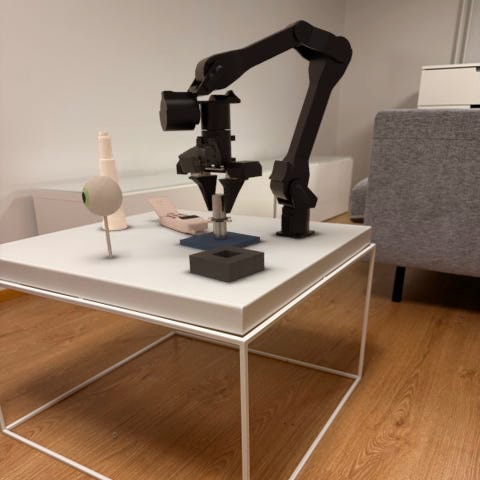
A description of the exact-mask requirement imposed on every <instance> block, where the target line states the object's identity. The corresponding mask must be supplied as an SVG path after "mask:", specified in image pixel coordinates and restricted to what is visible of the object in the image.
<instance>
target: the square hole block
mask: <svg viewBox="0 0 480 480" xmlns="http://www.w3.org/2000/svg"><path fill="white" fill-rule="evenodd" d="M188 263H189V273H191V274H196V275H199V276H204V277H206V278H211V279H215V280H218V281H221V282H222V281H223V282H226V283H231V282H234V281H237V280H239V279H242V278H244V277H247V276H251V275H253V274H255V273H259V272H260V271H264V270H265V252H264V251H259V250H254V249H248V248H244V247H240V248H239V247H234V246H229V245H223V246H220V247H216V248H213V249H209V250H203V251H199V252H194V253H191V254H189V255H188Z"/></svg>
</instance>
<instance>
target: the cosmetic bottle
mask: <svg viewBox="0 0 480 480" xmlns="http://www.w3.org/2000/svg"><path fill="white" fill-rule="evenodd" d="M98 135H99V136H98V137H97V140H98V142H97V143H98V149H99V150H98V151H99V157H100V158H99V159H98V167H99V176H106V177H109V178H111V179H113V180H114V181H115V182H116V183H117V184H118V185H119V186H120V183H119V182H120V181H119V176H118V169H117V165H116V159H115V158H114V157H113V148H112V140H111V136H109V131H99V132H98ZM107 220H108V227H109V231H121V230H126V229H127V228H128V222H127V217H126V215H125V210H124V205H123V203H122V204H121V206H120V208H119V209H118V210H117V211H116V212H115V213H113V214H112V215H109V216H107ZM102 230H104V231H105V225H104V218H103V217H102Z"/></svg>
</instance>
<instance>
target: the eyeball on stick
mask: <svg viewBox="0 0 480 480" xmlns="http://www.w3.org/2000/svg"><path fill="white" fill-rule="evenodd" d="M81 198H82V199H81V200H82V202H83V205H84V206H85V208H86V209H87V210H88V211H89V212H91V214H93V215H96V216H99V217H102V219H103V218H104V225H105V230H104V232H105V239H106V246H107V254H108V258H110V259H111V258H113V250H112V243H111V236H110V230H109V227H108V220H107V216H109V215H112V214H113V213H115V212H116V211H117V210H118V209H119V208H120V206H121V204H122V205H123V198H124V197H123V191H122V189H121V186H120V184H119V185H118V184H117V183H116V182H115V181H114V180H113V179H111V178H109V177H106V176H100V175H96V176H92V177H91V178H89V179H87V181H86V182H85V183H84V185H83V187H82V191H81Z"/></svg>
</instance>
